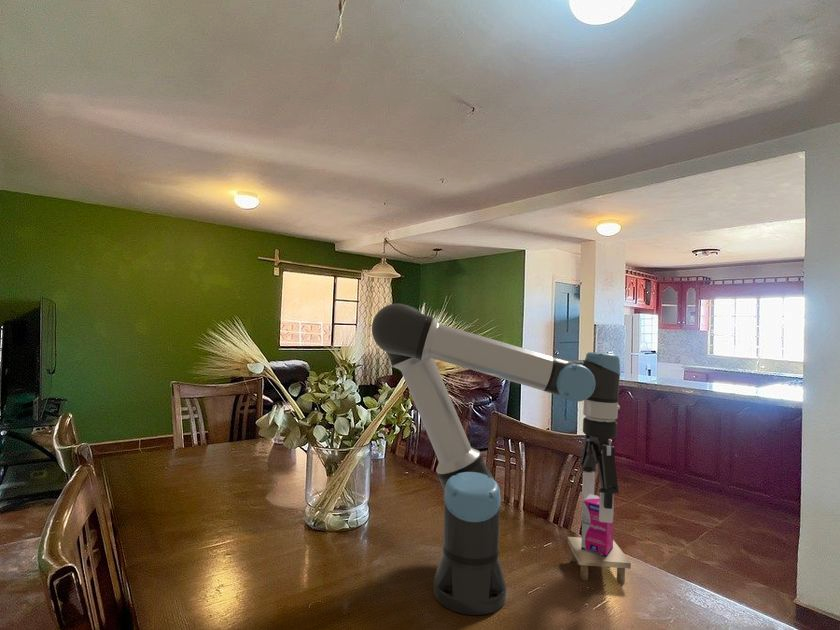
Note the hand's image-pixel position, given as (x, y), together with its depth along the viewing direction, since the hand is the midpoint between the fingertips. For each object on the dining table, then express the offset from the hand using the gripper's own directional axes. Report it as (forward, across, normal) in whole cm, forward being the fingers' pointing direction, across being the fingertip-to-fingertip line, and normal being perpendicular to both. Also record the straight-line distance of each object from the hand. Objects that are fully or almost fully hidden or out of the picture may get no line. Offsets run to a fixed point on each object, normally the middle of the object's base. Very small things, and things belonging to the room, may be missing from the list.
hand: (596, 509), depth 106 cm
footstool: (+14, 0, -1) cm, 14 cm away
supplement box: (+9, 0, -1) cm, 9 cm away
